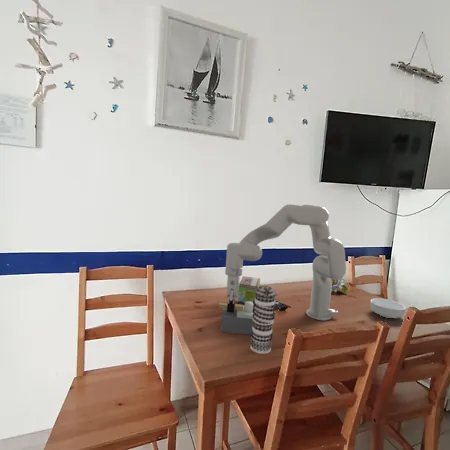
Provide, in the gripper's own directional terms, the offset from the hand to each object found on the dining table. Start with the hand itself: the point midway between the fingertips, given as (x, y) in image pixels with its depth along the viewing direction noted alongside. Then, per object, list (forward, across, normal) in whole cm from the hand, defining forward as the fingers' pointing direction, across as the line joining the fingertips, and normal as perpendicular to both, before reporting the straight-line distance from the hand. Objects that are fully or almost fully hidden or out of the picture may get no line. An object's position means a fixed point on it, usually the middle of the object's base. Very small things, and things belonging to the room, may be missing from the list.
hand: (230, 309), depth 136 cm
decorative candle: (+8, -16, -14) cm, 23 cm away
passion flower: (+8, +66, -66) cm, 94 cm away
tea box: (+8, +25, -8) cm, 28 cm away
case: (+8, 0, -5) cm, 10 cm away
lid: (+1, 0, -8) cm, 8 cm away
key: (+1, 0, 0) cm, 1 cm away
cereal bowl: (+8, +32, -83) cm, 89 cm away
